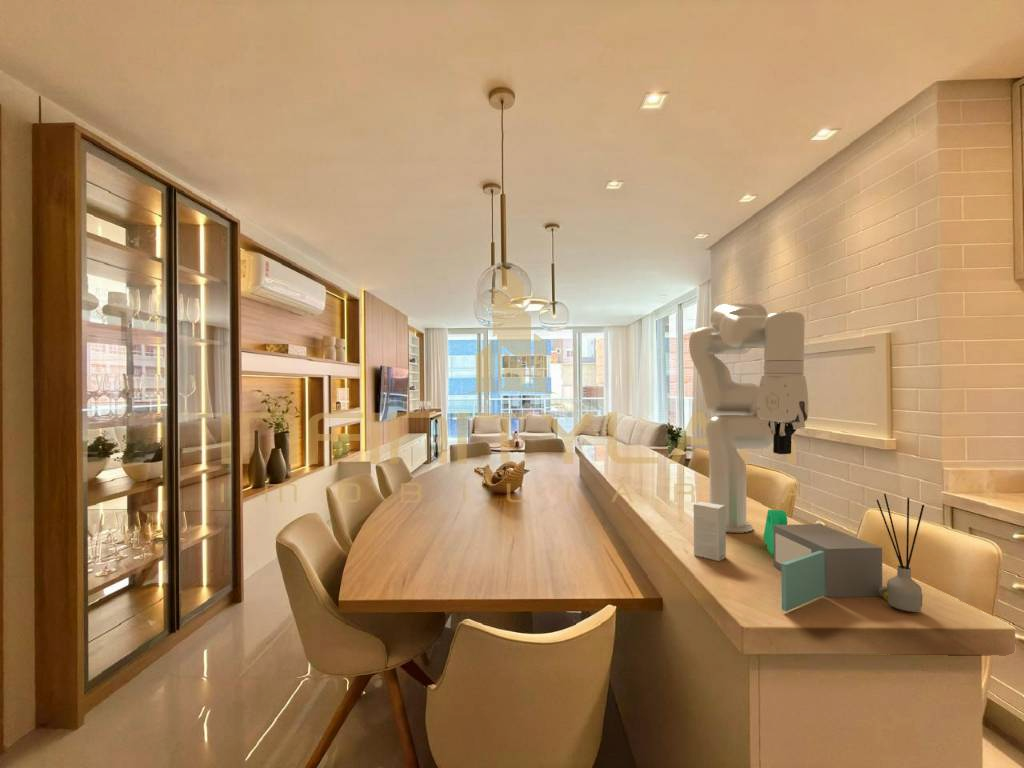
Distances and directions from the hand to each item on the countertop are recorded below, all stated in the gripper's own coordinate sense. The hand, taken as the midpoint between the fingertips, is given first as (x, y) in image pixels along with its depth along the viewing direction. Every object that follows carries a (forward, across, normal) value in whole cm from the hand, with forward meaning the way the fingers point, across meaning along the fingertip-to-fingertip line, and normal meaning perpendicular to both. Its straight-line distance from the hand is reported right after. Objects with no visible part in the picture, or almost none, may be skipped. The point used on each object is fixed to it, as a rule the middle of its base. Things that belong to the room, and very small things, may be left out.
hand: (782, 453), depth 105 cm
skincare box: (+25, -9, -11) cm, 29 cm away
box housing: (+25, +8, +3) cm, 26 cm away
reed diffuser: (+24, +22, +4) cm, 33 cm away
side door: (+24, +17, -11) cm, 31 cm away
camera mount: (+26, -6, +8) cm, 28 cm away
